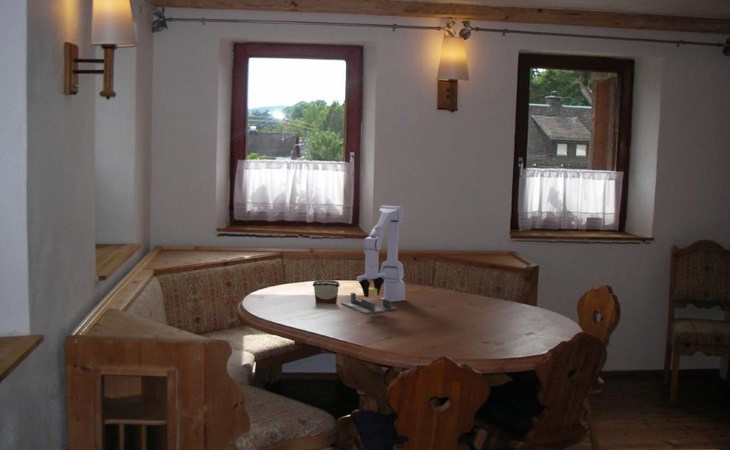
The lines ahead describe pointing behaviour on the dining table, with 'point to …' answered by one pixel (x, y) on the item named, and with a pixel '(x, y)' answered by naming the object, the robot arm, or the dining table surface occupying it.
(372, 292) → the clip
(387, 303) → the grey finned base plate
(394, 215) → the robot arm
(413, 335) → the dining table surface
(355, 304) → the rail
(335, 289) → the food container
